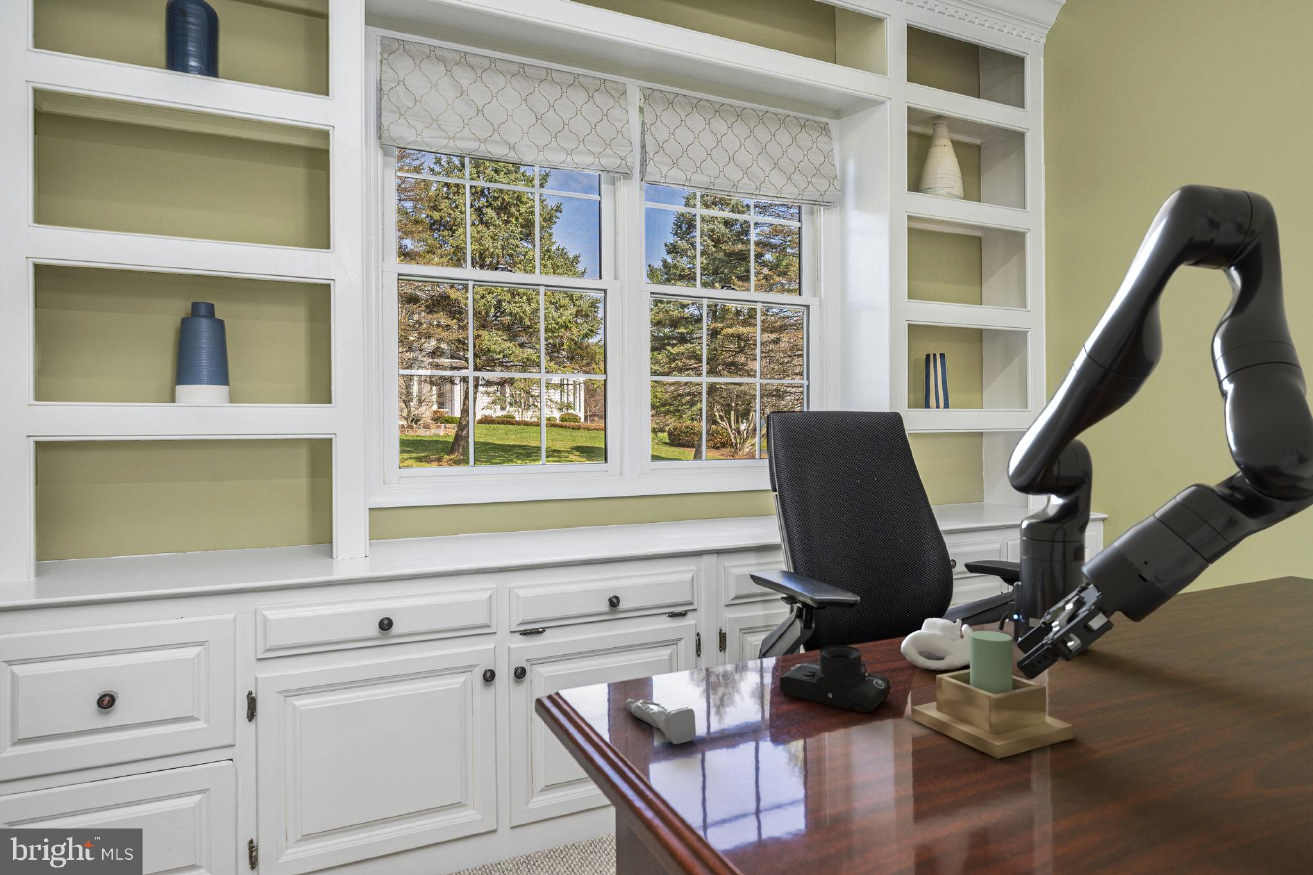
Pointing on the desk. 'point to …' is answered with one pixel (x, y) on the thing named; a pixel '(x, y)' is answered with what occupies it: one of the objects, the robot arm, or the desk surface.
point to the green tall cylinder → (991, 661)
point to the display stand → (992, 716)
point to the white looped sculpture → (938, 645)
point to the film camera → (837, 680)
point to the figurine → (666, 719)
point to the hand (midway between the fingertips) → (1022, 661)
